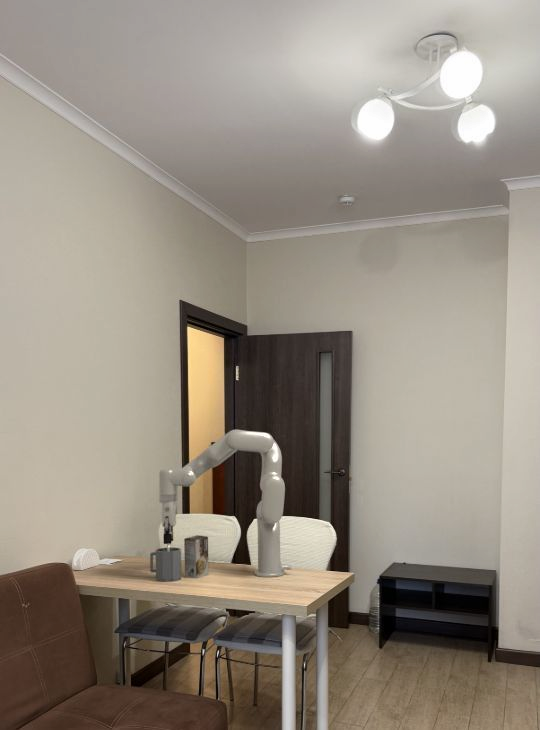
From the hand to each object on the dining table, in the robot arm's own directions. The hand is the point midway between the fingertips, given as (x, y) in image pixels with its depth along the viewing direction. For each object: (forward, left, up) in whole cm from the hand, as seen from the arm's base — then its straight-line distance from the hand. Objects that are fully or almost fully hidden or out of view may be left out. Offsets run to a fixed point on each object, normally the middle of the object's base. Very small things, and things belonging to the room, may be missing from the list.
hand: (168, 541), depth 289 cm
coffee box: (-11, -5, -15) cm, 20 cm away
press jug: (+1, 0, -15) cm, 15 cm away
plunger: (0, 0, -12) cm, 12 cm away
